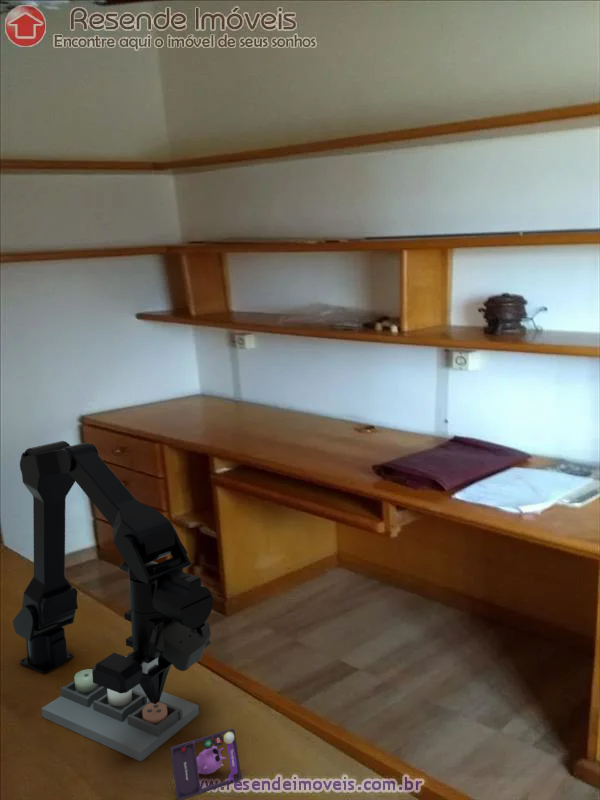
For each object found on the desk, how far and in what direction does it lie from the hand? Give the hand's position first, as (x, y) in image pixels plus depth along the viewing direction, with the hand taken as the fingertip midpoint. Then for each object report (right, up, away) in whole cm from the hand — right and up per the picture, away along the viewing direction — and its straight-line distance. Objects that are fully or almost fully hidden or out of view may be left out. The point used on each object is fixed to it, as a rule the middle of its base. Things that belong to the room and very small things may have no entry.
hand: (154, 702), depth 116 cm
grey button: (-6, -1, +4) cm, 7 cm away
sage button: (-12, 0, +8) cm, 14 cm away
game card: (+8, -7, -9) cm, 14 cm away
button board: (-6, -4, +5) cm, 9 cm away
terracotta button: (0, -3, +1) cm, 3 cm away
